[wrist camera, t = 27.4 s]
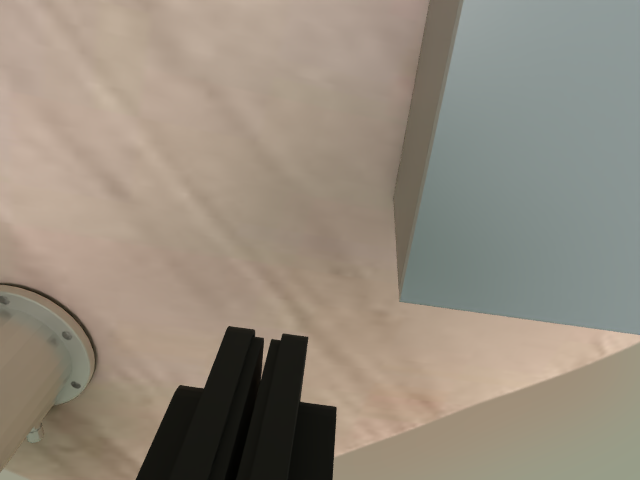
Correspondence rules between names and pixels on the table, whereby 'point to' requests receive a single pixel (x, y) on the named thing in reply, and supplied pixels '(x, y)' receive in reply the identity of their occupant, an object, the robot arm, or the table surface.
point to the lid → (534, 167)
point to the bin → (421, 119)
